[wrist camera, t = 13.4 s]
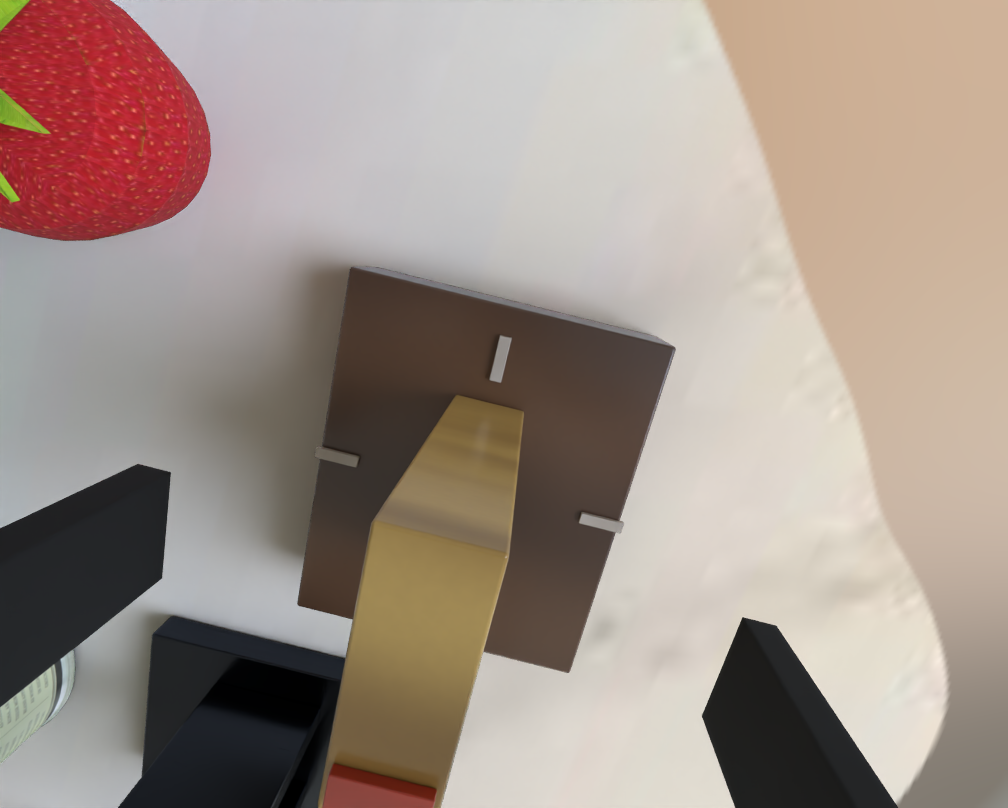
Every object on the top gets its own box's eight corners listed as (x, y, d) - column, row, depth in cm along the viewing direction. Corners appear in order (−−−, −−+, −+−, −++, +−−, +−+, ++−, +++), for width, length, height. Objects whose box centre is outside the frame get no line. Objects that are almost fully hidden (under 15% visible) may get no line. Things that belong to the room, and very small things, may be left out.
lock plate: (371, 265, 18) (343, 264, 15) (661, 337, 18) (681, 349, 15) (321, 567, 21) (291, 608, 18) (568, 628, 21) (572, 679, 18)
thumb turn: (455, 393, 16) (365, 528, 8) (524, 410, 16) (508, 564, 8) (418, 560, 18) (309, 824, 9) (481, 576, 18) (429, 854, 9)
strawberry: (72, 30, 17) (-564, -298, 7) (301, 83, 17) (-24, -174, 7) (70, 221, 18) (-457, 166, 9) (281, 270, 18) (-11, 270, 9)
